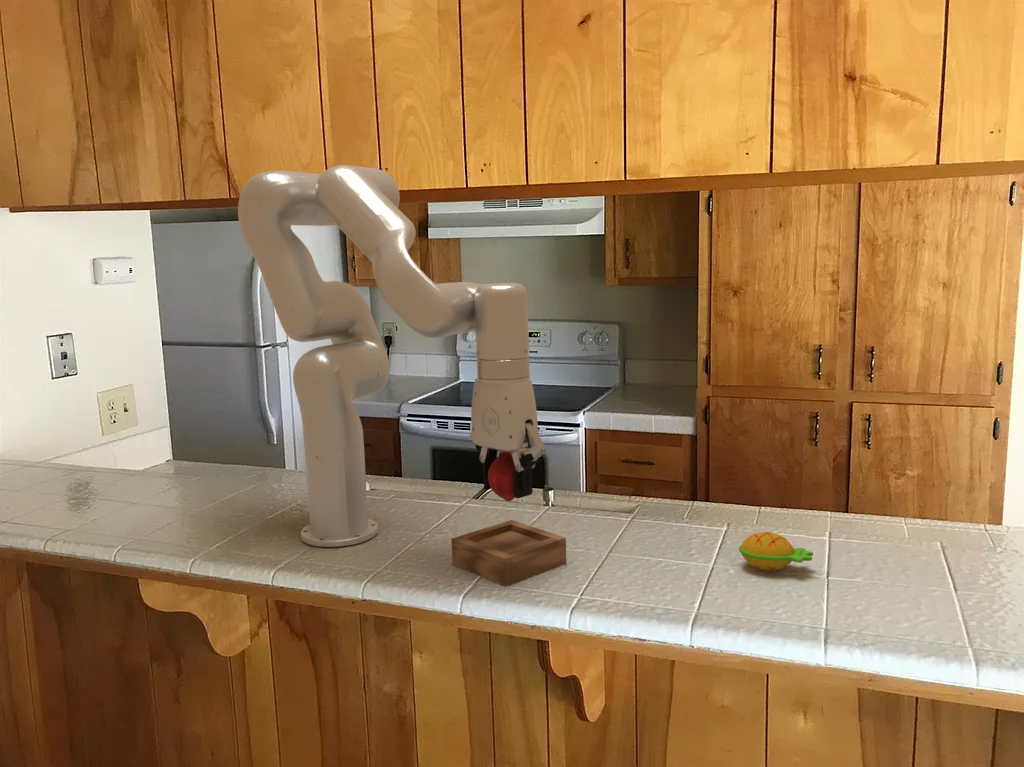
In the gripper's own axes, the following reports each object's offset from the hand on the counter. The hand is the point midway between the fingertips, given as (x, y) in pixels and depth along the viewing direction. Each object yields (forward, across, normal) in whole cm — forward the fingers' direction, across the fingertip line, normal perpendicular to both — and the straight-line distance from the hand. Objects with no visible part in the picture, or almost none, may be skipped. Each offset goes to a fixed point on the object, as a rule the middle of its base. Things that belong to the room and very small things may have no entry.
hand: (507, 490), depth 124 cm
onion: (+2, 0, 0) cm, 2 cm away
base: (+11, 0, 0) cm, 11 cm away
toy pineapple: (+12, +29, +25) cm, 40 cm away
